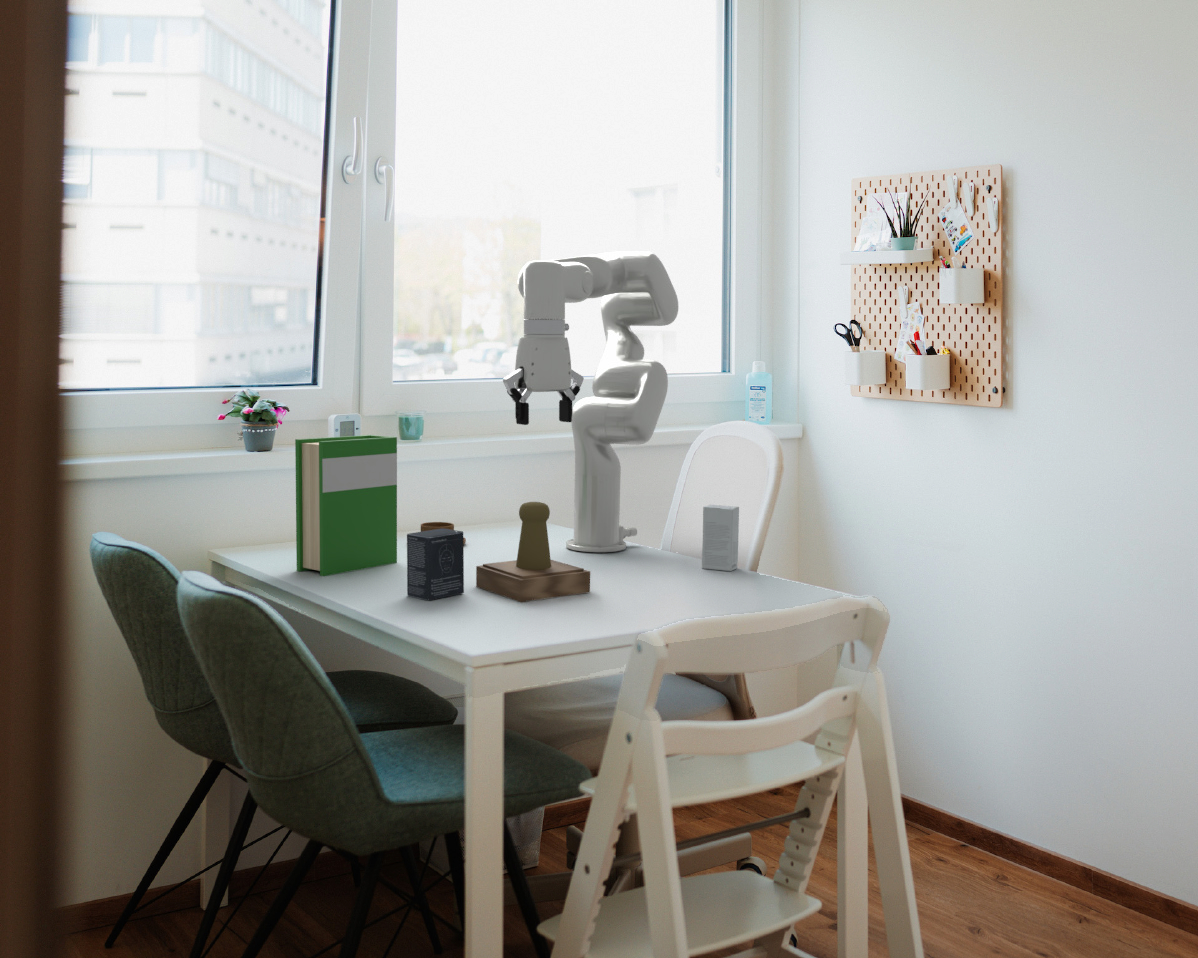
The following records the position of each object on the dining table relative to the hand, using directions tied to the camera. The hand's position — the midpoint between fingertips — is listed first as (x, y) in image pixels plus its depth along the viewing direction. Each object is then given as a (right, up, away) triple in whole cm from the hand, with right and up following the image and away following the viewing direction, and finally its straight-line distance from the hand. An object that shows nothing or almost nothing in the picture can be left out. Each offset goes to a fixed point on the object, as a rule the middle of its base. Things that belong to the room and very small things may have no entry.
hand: (544, 423), depth 200 cm
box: (-17, -30, -21) cm, 40 cm away
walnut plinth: (-1, -29, -15) cm, 33 cm away
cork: (-1, -25, -15) cm, 30 cm away
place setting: (-28, -25, +28) cm, 47 cm away
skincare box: (+33, -28, +7) cm, 44 cm away
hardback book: (-37, -27, +2) cm, 46 cm away
